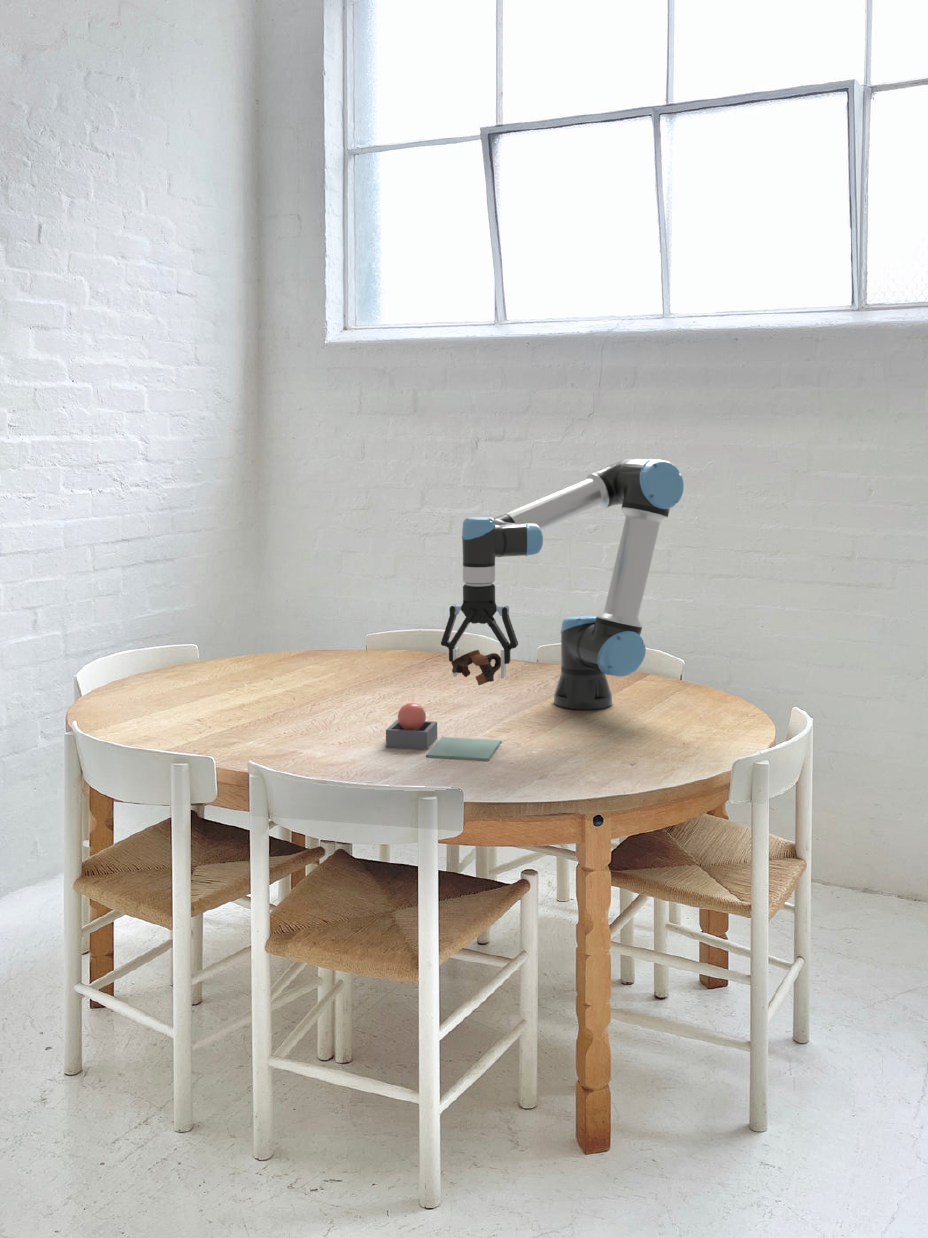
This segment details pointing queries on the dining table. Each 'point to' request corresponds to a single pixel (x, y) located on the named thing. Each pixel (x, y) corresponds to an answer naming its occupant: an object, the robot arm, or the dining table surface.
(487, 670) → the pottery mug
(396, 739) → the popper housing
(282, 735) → the dining table surface
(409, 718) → the pinkish red ball
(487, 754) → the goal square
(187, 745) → the dining table surface
